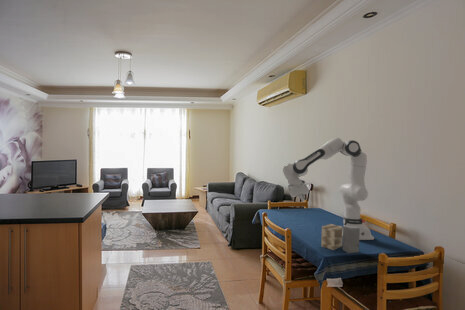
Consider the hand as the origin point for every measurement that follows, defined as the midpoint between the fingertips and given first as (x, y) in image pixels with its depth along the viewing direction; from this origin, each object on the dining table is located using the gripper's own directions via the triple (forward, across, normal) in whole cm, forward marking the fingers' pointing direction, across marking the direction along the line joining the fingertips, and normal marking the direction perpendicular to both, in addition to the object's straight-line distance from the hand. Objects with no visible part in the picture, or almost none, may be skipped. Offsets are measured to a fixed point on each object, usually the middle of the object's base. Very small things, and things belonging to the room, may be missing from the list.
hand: (303, 200), depth 225 cm
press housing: (+36, -6, -7) cm, 37 cm away
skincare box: (+43, -5, -17) cm, 47 cm away
